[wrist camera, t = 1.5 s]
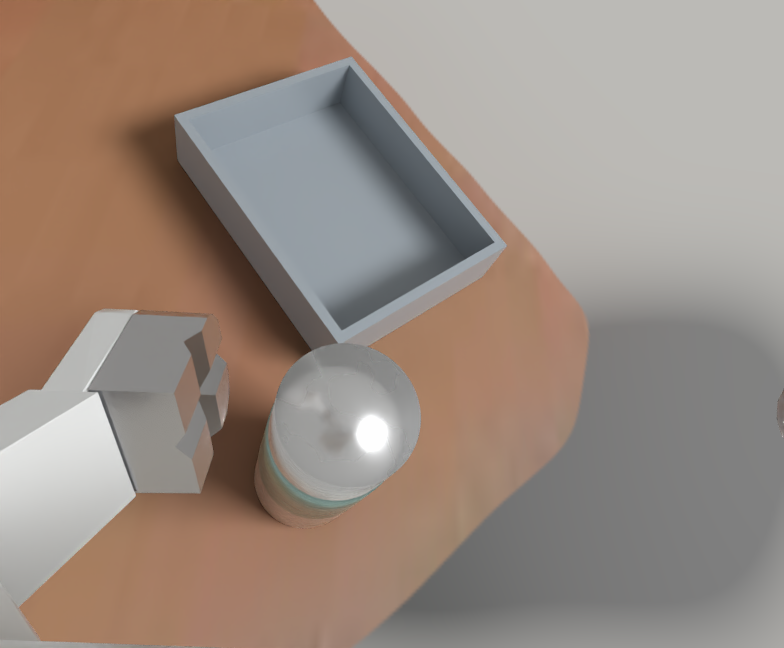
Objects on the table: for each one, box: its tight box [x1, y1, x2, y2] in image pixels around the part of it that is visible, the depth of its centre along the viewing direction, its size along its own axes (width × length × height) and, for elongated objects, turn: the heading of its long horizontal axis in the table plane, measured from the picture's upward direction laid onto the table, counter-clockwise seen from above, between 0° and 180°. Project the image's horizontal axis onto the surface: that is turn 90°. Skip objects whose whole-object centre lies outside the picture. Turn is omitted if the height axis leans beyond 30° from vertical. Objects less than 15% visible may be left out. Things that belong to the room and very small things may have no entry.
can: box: [254, 343, 421, 529], centre depth 28 cm, size 6×6×12 cm
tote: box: [174, 57, 507, 351], centre depth 39 cm, size 17×13×4 cm
